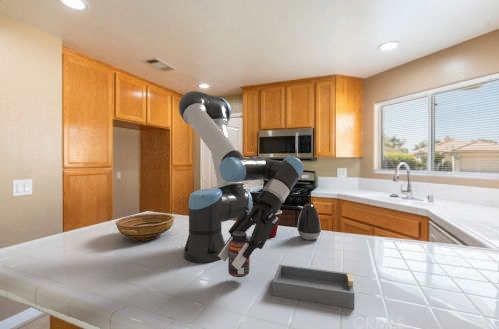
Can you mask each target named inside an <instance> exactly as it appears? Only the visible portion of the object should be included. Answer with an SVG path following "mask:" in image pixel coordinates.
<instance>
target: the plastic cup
mask: <svg viewBox="0 0 499 329" xmlns="http://www.w3.org/2000/svg"><path fill="white" fill-rule="evenodd" d="M282 213H283V211H282V210H280V209H279V210H278V212H277V213H276V214H275V215H276V216H277V218H278V219H279V220H280V217H281V214H282ZM279 222H280V221H279ZM279 222H278V223H277V224H276V225H275V226H274V228H273V230H272V232H271V233H270V235H269V237H268V239H272V238H273V239H274V238H276V237H277V234H278V226H279Z"/></svg>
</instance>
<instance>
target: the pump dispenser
mask: <svg viewBox="0 0 499 329" xmlns="http://www.w3.org/2000/svg"><path fill="white" fill-rule="evenodd" d="M297 209H298V210H301V211H300V213H299V215H298V220H297V226H296V227H297V228H296V230H297V232H298V235H299V236H300V237H301V238H302V239H304V240H307V241H314V240H317V239H318V238H319V237H320V234H321V232H322V226H321V225H322V224H321V219H320V216H319V213H318V211H317V208H316V207H315V205H313V203H306V204H304V205H303V206H300V205H297Z"/></svg>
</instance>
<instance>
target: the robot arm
mask: <svg viewBox="0 0 499 329" xmlns="http://www.w3.org/2000/svg"><path fill="white" fill-rule="evenodd" d="M177 106H178V113H179V116H180V118H182V121H184V123H185V124H186V125H189V126H190V127H192V129H193V130H194V132H195V133H196V134H197V135H198V137H199V138H200V139H201V141H202V142H203V143H204V144H205V145H206V147H207V148H208V150H209V151H210V154H211V159H212V164H213V168H214V173H215V174H214V175H215V178H216V184H217V185H216V186H215V187H210V188H202V189H198V190H196V191H195V190H194V191H192V192H191V193H190V195H189V198H188V204H187V205H188V236H187V239H186V241H185V242H186V243H185V245H184V249H183V258H184V259H185V260H186V261H189V262H192V263H203V264H205V263H212V262H217V261H219V260H222V261H224V262H226V261H227V260H228V259H229V242H230V241H231V240H232V239H233V238H232V234H233V232H237V231H242V232H246V233H247V231H248V230H249V229H250V228H251V227H252V226H254V228H253V230H252V233H251V235H250V238H249V240H248V241H247V242H248V244H249V245H248V244H247V243H245V245H244V246H243V248H242V249H241V251H240V252H239V254H238V255H237V257H236V258H235V260H234V261H233V263H232V265H233V266H234V267H235V268H236V269H238V270H240V268H241V267H242V265H243V264H244V262H245V260H246V259H248V258H249V257H250V256H251V255H252V254H253V252H254V250H257V249H259V250H262V249H263V247H264V245H265V244H266V242H267V240H268V239H269V238H268V237H269V235H270V233H271V232H272V230H273V228H274V226H275V225H276V224H277V223H278V222H280V218H279V219H278V218H277V216H276V215H275V214H276V213H277V212H278V210H280V209H281V207H282V205H283V204H284V203H285V201H286V199H287V198H288V196H289V195H290V193H291V191H292V189H293V187H294V186H295V185H296V184H297V182H298V181H299V179H300V178H301V176H302V174H303V172H304V170H305V166H304V164H303V162H302V161H301V159H299V158H297V157H295V156H293V155H292V156H291V155H289V156H286V157H285V158H284V159H283V160H282V161H280V160H274V159H270V158H265V157H262V156H252V157H245V156H244V155H243V154H242V153H241V151H239V150H238V148H237V147H236V146H235V144H234V143H233V142H232V141H231V140H230V138H229V135H228V130H227V127H228V125H229V123H230V122H229V121H230V119H231V116H232V107H231V105H230V102H229V101H227V99H225V98H223V97H222V96H221V97H220V96H217V95H212V94H208V93H204V92H201V91H197V90H192V91H191V90H190V91H188V92H186V93H185V94H183V95H182V96H181V98H180V99H179V102H178V105H177ZM261 180H262V181H263V180H264V181H268V182H267V183H266V185H265V186H263V190H262V191H261V192H260V193H259V195H258V196H257V198H256V200H255V202H256V203H255V205H254V206H253V197H252V194H251V192H250V191H248V189H246V188H244V183H243V182H248V181H249V182H250V181H261ZM233 220H236V221H235V222H234V223H233V225H232V226H231V227H230V229H229V230H228V233H229V235H230V237H229V238H228V239H227V240H226V242H225V239H224V236H223V233H222V232H223V231H222V230H223V229H222V224H223V222H228V221H233ZM278 224H279V223H278Z"/></svg>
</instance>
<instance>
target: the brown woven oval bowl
mask: <svg viewBox="0 0 499 329" xmlns="http://www.w3.org/2000/svg"><path fill="white" fill-rule="evenodd" d="M175 218H176V217H175V216H174V215H172V214H168V213H143V214H135V215H130V216H129V215H128V216H126V217H122V218H120V219H118V220H116V221H115V225H116V229H117V230H118V232H119V233H120V234H121V235H122V236H125V237H129V238H131V239H132V240H134V239H135V240H134V241H137V240H146V241H151V240H150V239H152V240H155V239H157V237H158V236H159V235H160V236H161V235H162V234H164V233H165V232H167V231H169V230H170V229H171V228H172V226H173V225H174V220H175ZM160 236H159V237H160ZM159 237H158V238H159ZM154 238H155V239H154Z"/></svg>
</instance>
